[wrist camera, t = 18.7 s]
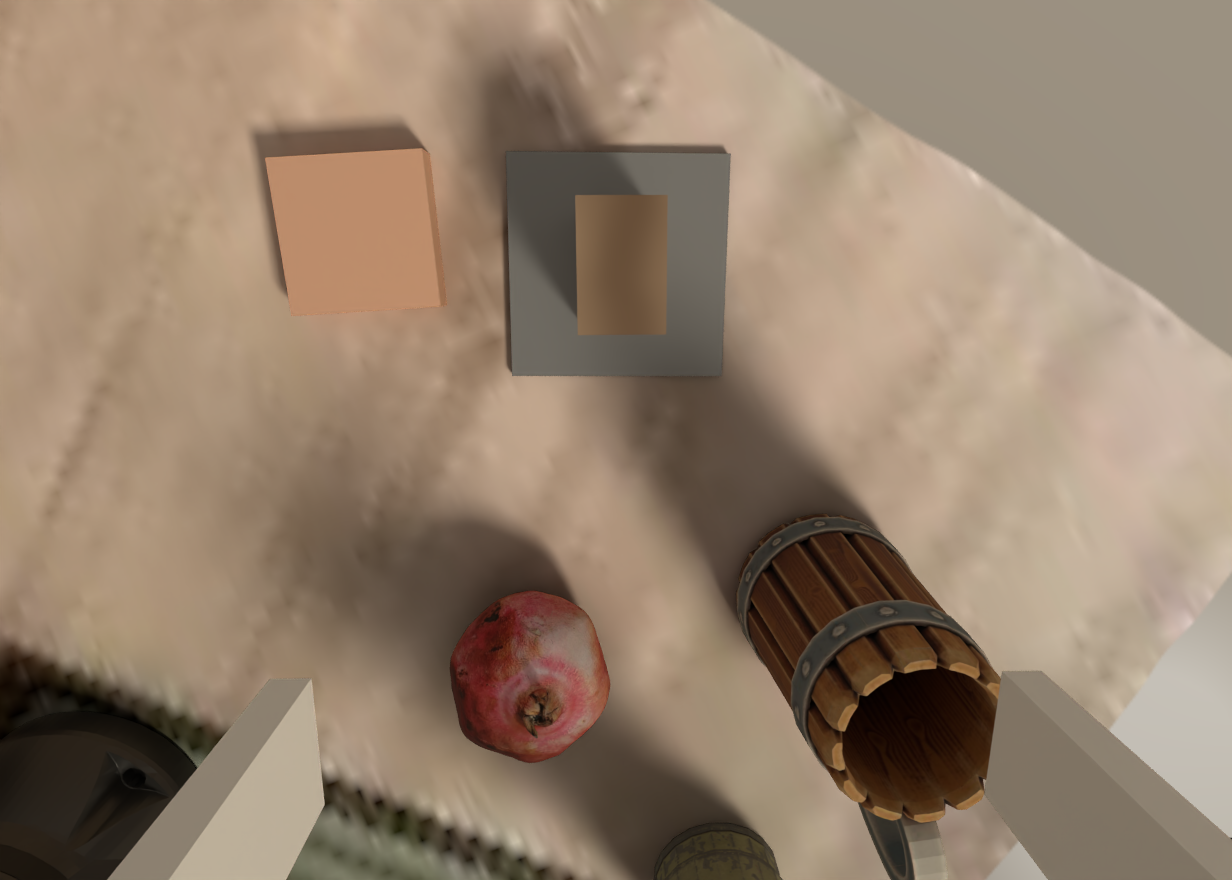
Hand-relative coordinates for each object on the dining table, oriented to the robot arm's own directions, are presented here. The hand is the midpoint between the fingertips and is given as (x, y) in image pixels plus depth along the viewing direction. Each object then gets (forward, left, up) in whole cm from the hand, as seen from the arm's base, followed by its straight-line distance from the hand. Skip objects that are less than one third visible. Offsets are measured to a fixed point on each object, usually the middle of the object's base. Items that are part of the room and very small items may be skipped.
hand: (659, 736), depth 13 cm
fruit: (-5, -14, -29) cm, 33 cm away
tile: (-14, +7, -28) cm, 32 cm away
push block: (0, +9, -28) cm, 30 cm away
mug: (+13, -13, -29) cm, 34 cm away
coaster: (0, +9, -29) cm, 30 cm away
